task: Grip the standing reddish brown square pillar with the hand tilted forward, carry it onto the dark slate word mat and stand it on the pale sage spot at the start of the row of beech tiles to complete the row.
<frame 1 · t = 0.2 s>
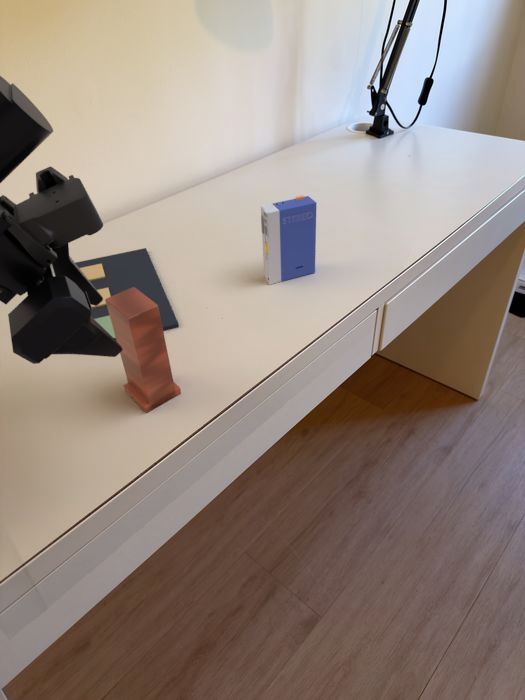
hand: (108, 325, 52), 13 cm above the table, tool tilted 35°, fingers open, 9 cm apart
reddish brown square pillar: (152, 392, 63), on the table
word mat: (115, 295, 80), on the table
walkman: (289, 275, 83), on the table
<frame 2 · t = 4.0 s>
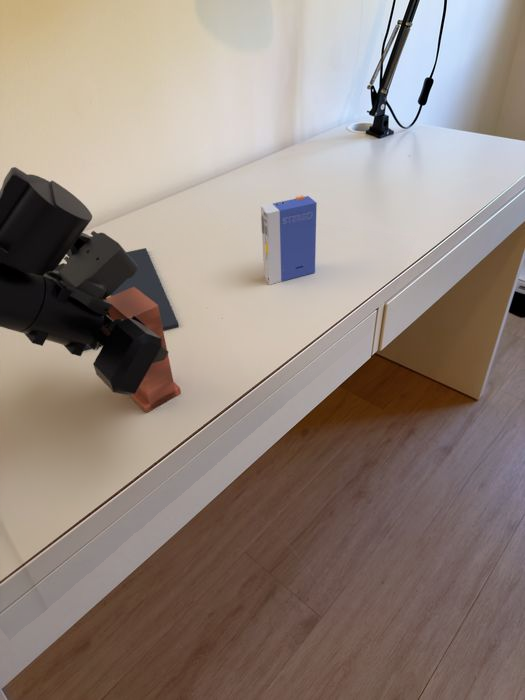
hand: (153, 344, 60), 7 cm above the table, tool tilted 45°, fingers closed on reddish brown square pillar, 5 cm apart
reddish brown square pillar: (152, 392, 63), on the table, touching gripper
everything else where it was.
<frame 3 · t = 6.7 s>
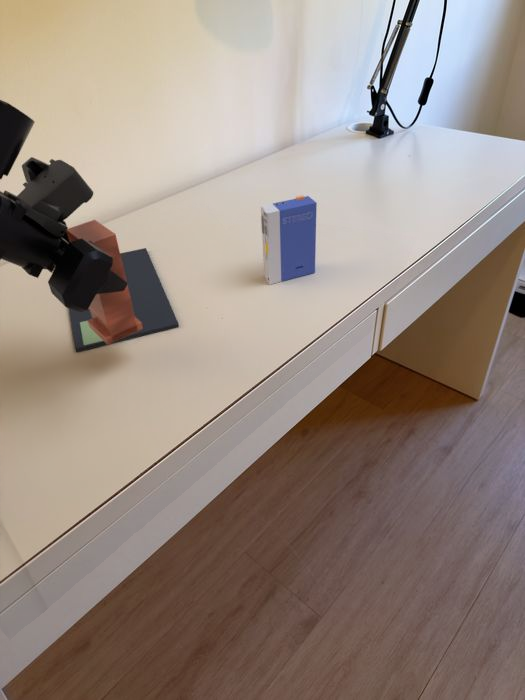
hand: (114, 278, 62), 11 cm above the table, tool tilted 45°, fingers closed on reddish brown square pillar, 5 cm apart
reddish brown square pillar: (116, 327, 65), point 5 cm above the table, touching gripper
everything else where it was.
when the fingers open (7 cm above the table, at t = 9.5 s): reddish brown square pillar stays where it is, resting on word mat.
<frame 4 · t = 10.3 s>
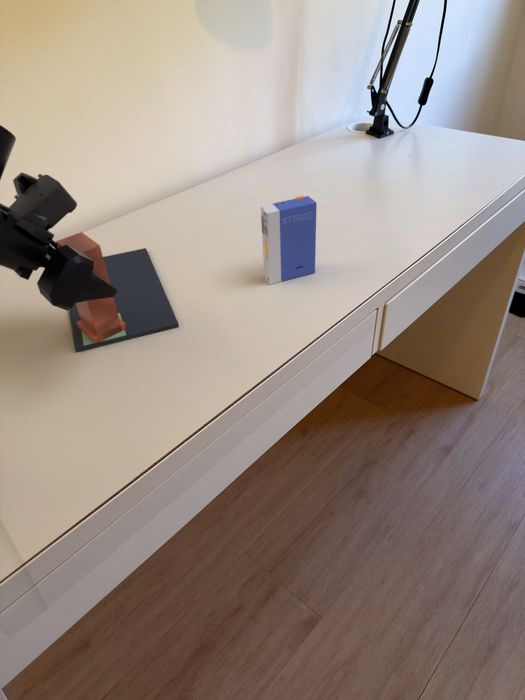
hand: (98, 279, 68), 8 cm above the table, tool tilted 45°, fingers open, 9 cm apart
reddish brown square pillar: (102, 328, 72), point 1 cm above the table, touching word mat
everything else where it was.
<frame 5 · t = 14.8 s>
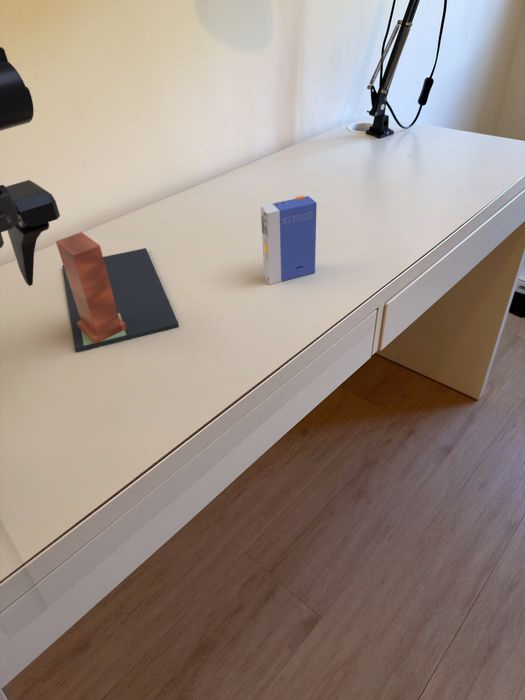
nothing on the table moved.
at the end: reddish brown square pillar 0.0 cm from the target spot on the word mat, point 0.7 cm above the word mat's base; reddish brown square pillar tilted 0°; the gripper is holding nothing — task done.
